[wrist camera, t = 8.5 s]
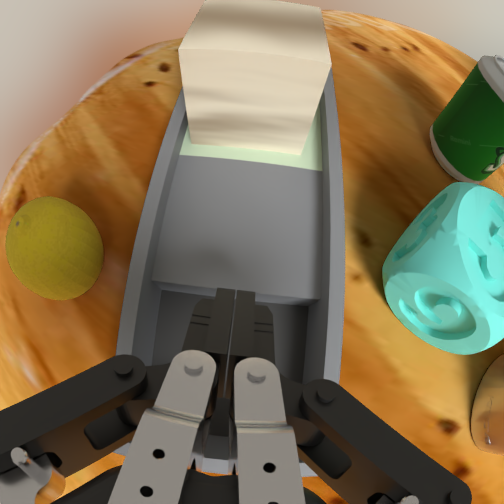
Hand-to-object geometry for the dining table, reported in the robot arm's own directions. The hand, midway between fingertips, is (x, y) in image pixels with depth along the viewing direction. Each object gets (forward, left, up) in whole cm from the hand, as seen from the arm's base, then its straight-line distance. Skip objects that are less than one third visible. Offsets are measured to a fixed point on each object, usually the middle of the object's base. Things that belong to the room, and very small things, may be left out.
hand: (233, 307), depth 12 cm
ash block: (-2, -14, -3) cm, 14 cm away
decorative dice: (-14, -1, -7) cm, 16 cm away
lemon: (+10, -4, -6) cm, 12 cm away
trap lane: (-2, -9, -6) cm, 11 cm away
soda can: (-22, -13, -7) cm, 27 cm away
